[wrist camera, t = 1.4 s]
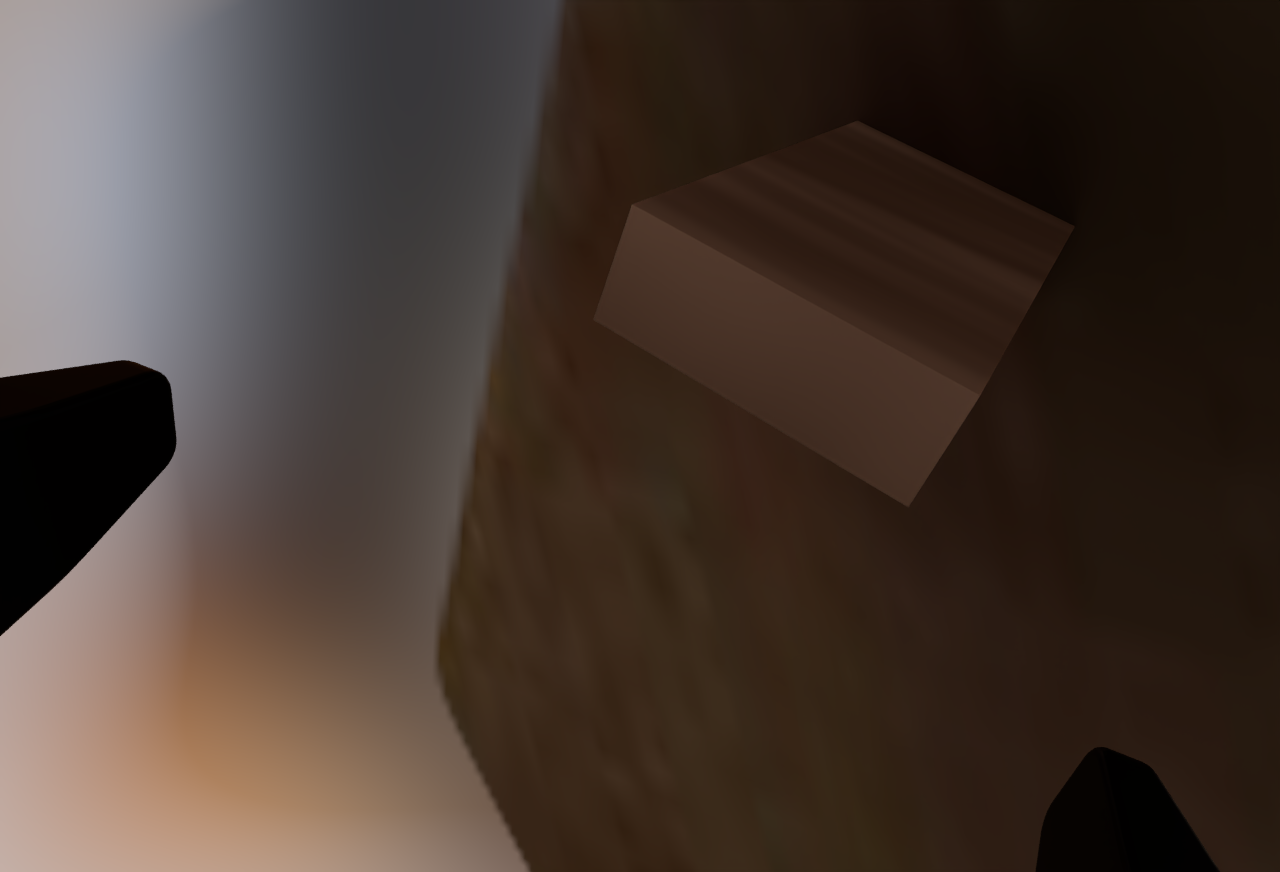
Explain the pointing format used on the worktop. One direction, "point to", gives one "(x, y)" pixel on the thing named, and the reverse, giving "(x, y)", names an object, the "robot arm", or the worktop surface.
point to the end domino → (836, 294)
